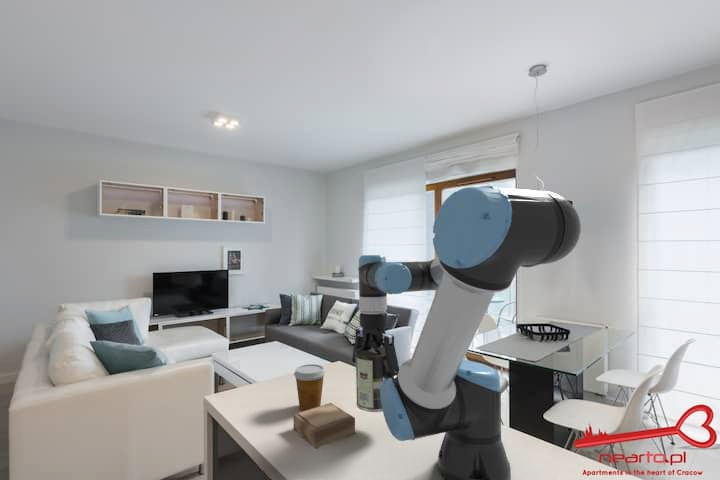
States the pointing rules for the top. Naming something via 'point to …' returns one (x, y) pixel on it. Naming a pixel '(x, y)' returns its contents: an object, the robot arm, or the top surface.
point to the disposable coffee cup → (309, 385)
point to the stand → (324, 424)
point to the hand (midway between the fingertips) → (375, 395)
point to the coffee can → (369, 379)
